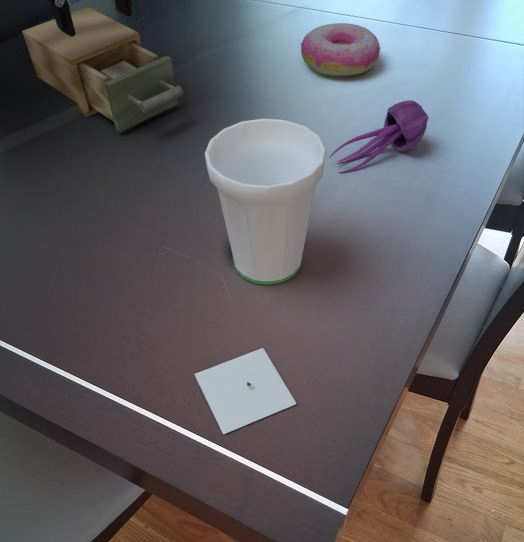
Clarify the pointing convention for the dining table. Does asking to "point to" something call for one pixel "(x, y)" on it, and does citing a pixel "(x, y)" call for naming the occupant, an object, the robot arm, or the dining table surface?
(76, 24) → the cabinet
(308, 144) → the cup
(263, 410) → the coaster
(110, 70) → the block
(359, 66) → the donut
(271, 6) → the dining table surface
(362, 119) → the dining table surface
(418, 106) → the jellyfish
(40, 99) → the dining table surface
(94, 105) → the drawer
